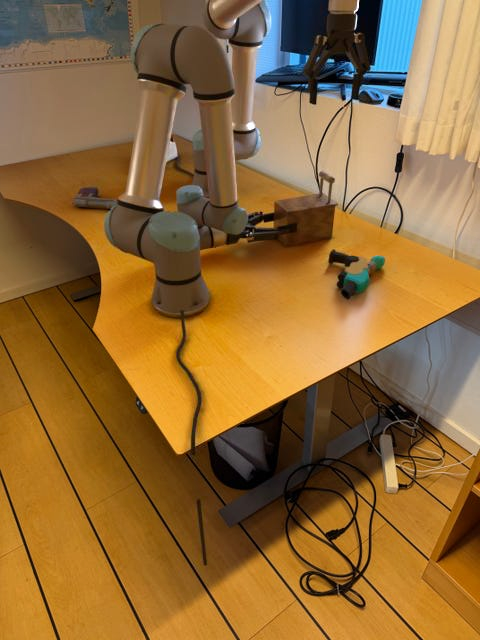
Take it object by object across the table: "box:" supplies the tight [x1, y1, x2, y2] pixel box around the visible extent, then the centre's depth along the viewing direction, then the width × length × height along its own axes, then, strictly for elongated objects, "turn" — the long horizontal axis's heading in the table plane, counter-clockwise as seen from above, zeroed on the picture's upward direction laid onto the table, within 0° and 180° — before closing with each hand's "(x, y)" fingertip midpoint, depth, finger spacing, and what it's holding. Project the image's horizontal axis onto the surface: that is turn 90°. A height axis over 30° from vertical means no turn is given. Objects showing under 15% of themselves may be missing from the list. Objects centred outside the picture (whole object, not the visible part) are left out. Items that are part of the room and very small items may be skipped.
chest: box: [272, 203, 336, 248], centre depth 153 cm, size 17×10×11 cm, turn 112°
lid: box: [273, 170, 339, 215], centre depth 148 cm, size 18×10×9 cm, turn 112°
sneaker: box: [166, 134, 178, 163], centre depth 214 cm, size 10×29×12 cm, turn 163°
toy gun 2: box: [328, 248, 386, 301], centre depth 133 cm, size 4×26×15 cm
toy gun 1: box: [71, 186, 118, 210], centre depth 180 cm, size 4×19×15 cm
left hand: (289, 221), depth 151 cm, fingers closed on chest, 9 cm apart
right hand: (333, 101), depth 135 cm, fingers open, 13 cm apart
